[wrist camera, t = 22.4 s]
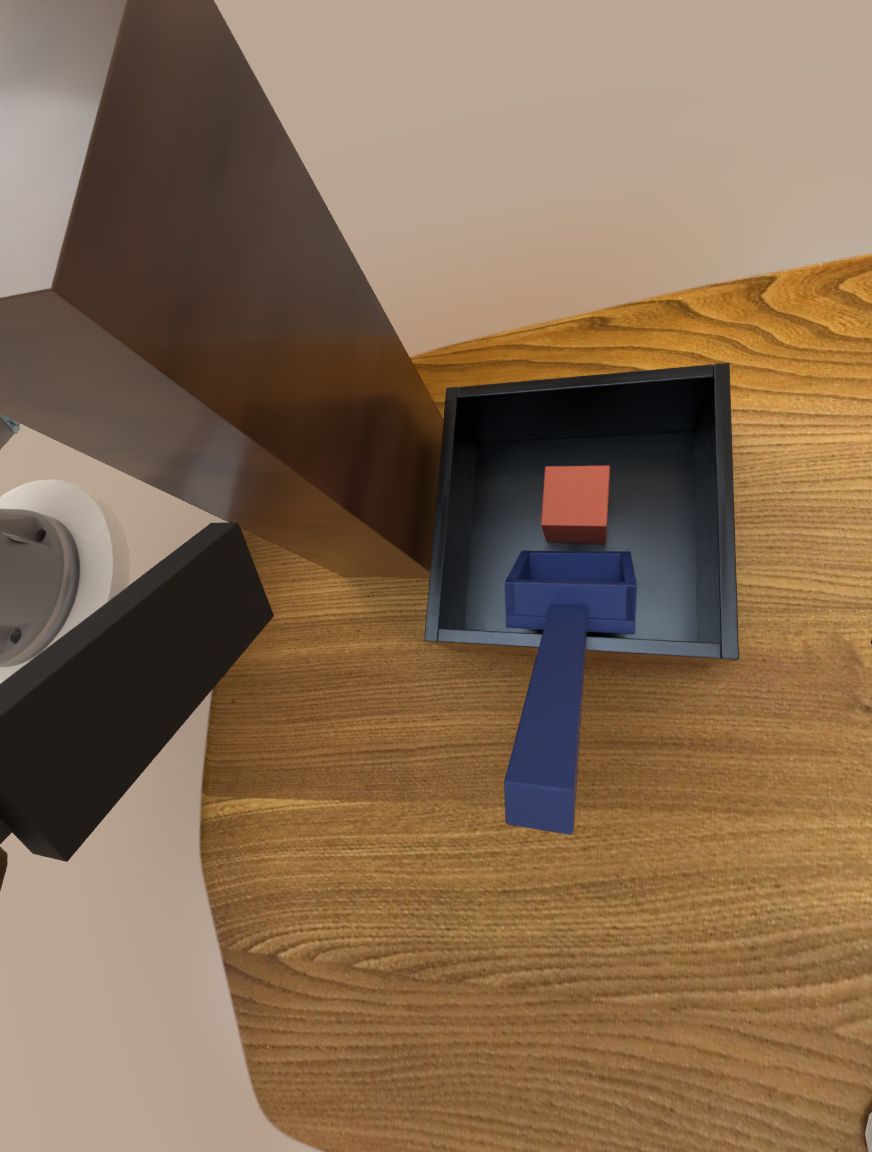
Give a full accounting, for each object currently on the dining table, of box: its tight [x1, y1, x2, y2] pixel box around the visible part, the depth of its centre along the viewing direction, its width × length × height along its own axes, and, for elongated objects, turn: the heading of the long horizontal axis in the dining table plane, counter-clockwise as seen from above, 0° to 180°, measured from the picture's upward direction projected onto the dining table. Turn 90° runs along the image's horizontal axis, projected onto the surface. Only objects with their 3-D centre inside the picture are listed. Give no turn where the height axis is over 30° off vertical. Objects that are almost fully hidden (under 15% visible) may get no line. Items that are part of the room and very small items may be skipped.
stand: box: [0, 0, 444, 578], centre depth 28 cm, size 8×12×30 cm, turn 175°
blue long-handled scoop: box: [504, 551, 637, 835], centre depth 25 cm, size 7×22×3 cm
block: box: [541, 466, 610, 544], centre depth 35 cm, size 4×4×4 cm
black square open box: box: [424, 363, 739, 667], centre depth 34 cm, size 17×17×7 cm
